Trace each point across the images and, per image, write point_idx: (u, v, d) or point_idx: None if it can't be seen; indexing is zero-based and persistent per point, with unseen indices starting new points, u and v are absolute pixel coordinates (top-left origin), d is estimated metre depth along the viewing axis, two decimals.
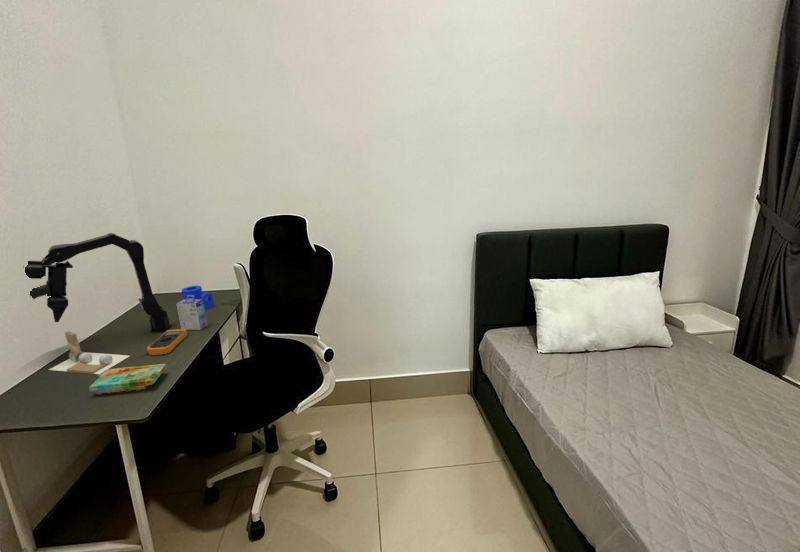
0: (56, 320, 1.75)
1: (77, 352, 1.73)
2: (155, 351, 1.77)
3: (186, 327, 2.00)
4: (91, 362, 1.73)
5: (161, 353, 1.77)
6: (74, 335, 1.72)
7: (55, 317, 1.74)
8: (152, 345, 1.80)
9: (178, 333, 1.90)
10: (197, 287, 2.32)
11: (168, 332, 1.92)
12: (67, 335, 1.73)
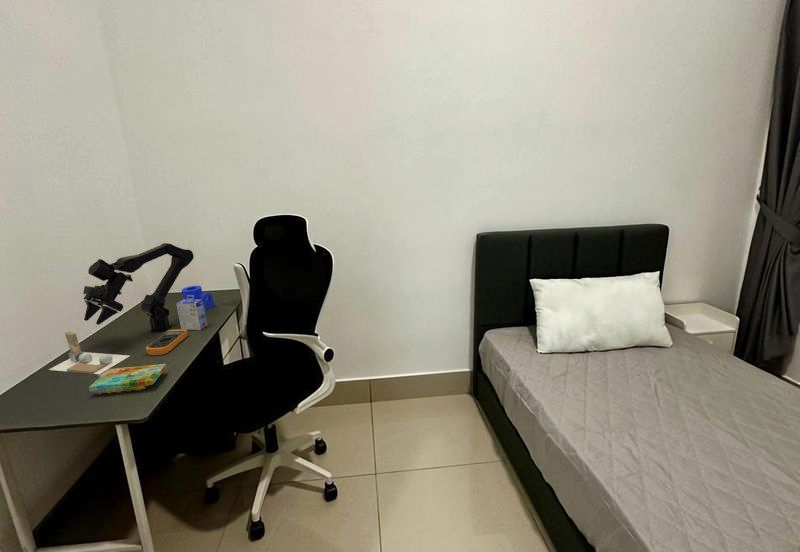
0: (98, 322, 1.76)
1: (77, 352, 1.73)
2: (153, 351, 1.77)
3: (186, 327, 2.00)
4: (91, 362, 1.73)
5: (159, 353, 1.77)
6: (74, 335, 1.72)
7: (100, 319, 1.76)
8: (151, 345, 1.80)
9: (178, 333, 1.90)
10: (197, 287, 2.32)
11: (169, 332, 1.92)
12: (67, 335, 1.73)
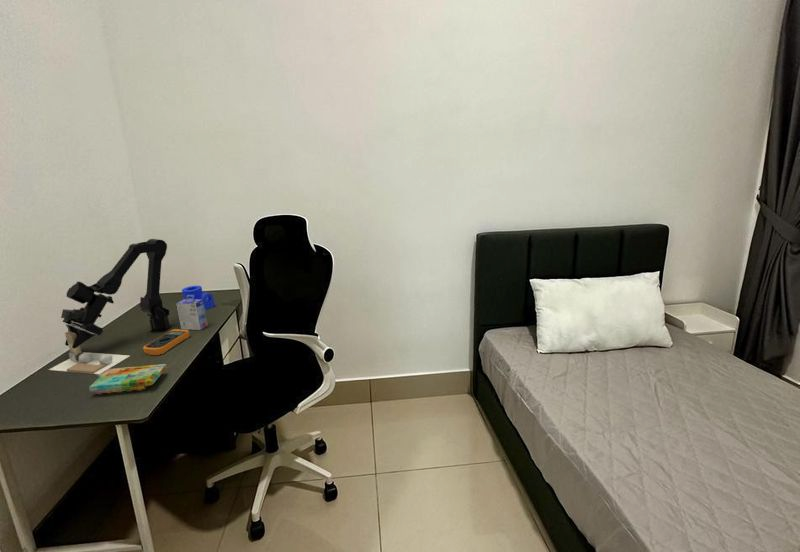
0: (74, 346, 1.72)
1: (77, 352, 1.73)
2: (149, 351, 1.77)
3: (186, 327, 2.00)
4: (91, 362, 1.73)
5: (154, 354, 1.77)
6: (74, 335, 1.72)
7: (76, 343, 1.72)
8: (149, 344, 1.81)
9: (179, 334, 1.89)
10: (197, 287, 2.32)
11: (172, 331, 1.92)
12: (67, 335, 1.73)
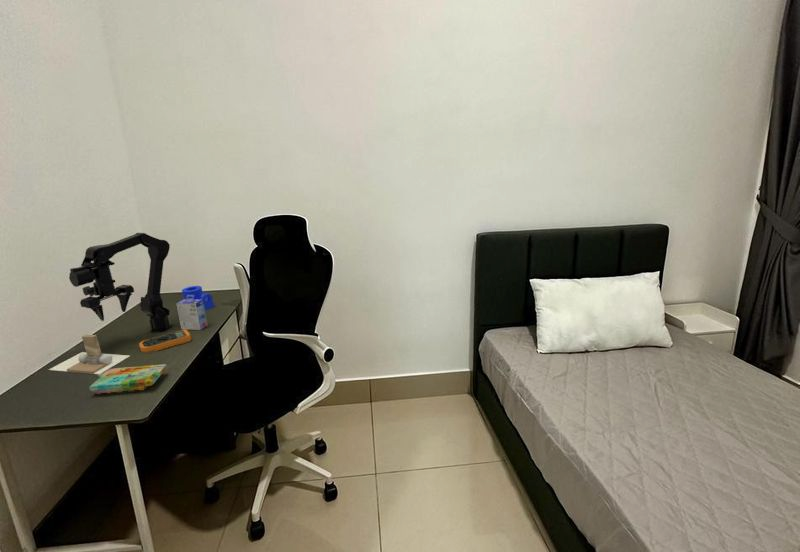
0: (101, 319, 1.80)
1: (98, 354, 1.70)
2: (140, 347, 1.81)
3: (186, 327, 2.00)
4: None
5: (142, 351, 1.80)
6: (95, 337, 1.69)
7: (98, 316, 1.79)
8: (148, 340, 1.85)
9: (179, 336, 1.87)
10: (197, 287, 2.32)
11: (180, 331, 1.91)
12: (86, 338, 1.69)
